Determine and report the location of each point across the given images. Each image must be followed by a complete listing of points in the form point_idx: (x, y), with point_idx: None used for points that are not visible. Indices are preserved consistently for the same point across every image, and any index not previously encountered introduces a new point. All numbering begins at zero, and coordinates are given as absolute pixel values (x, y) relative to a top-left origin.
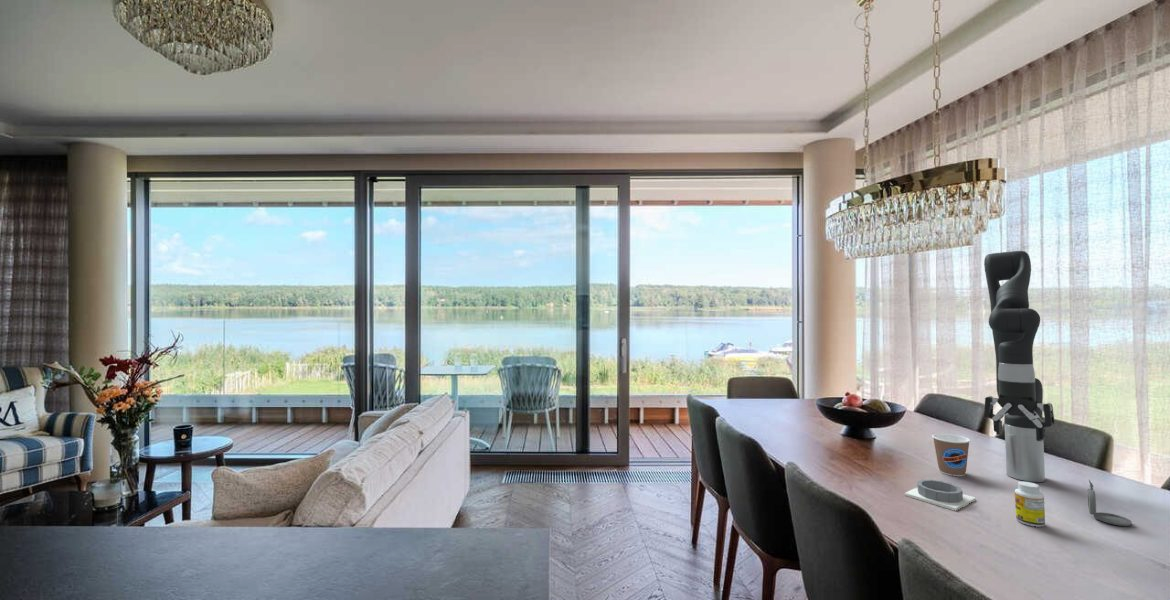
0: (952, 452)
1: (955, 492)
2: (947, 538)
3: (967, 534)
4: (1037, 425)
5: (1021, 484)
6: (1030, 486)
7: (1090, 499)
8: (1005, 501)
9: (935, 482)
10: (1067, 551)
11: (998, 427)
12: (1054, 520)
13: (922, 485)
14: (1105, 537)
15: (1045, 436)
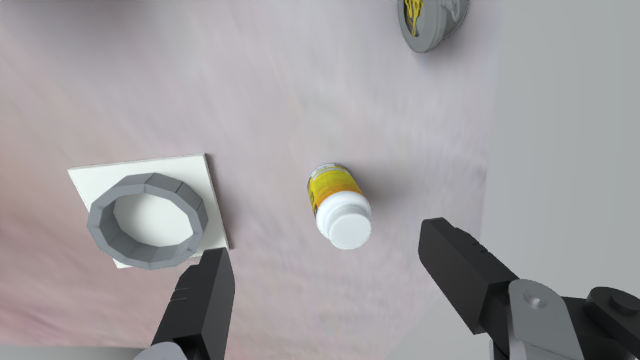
0: None
1: (198, 235)
2: (287, 335)
3: (294, 306)
4: (498, 353)
5: (341, 248)
6: (359, 245)
7: (429, 49)
8: (241, 91)
9: (111, 201)
10: (395, 243)
11: (224, 332)
12: (351, 124)
13: (129, 259)
14: (427, 133)
15: (473, 240)
